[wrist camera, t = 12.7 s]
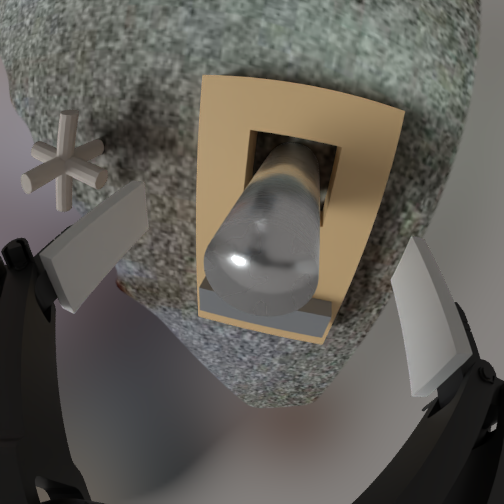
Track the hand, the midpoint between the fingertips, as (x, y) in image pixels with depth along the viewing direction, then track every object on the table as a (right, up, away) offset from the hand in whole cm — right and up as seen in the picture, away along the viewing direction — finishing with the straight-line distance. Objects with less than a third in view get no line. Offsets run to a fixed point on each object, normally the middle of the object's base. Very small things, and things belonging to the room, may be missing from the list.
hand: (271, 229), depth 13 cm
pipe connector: (-17, +10, +12) cm, 23 cm away
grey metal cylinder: (+2, +6, +9) cm, 11 cm away
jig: (+2, +2, +12) cm, 12 cm away
